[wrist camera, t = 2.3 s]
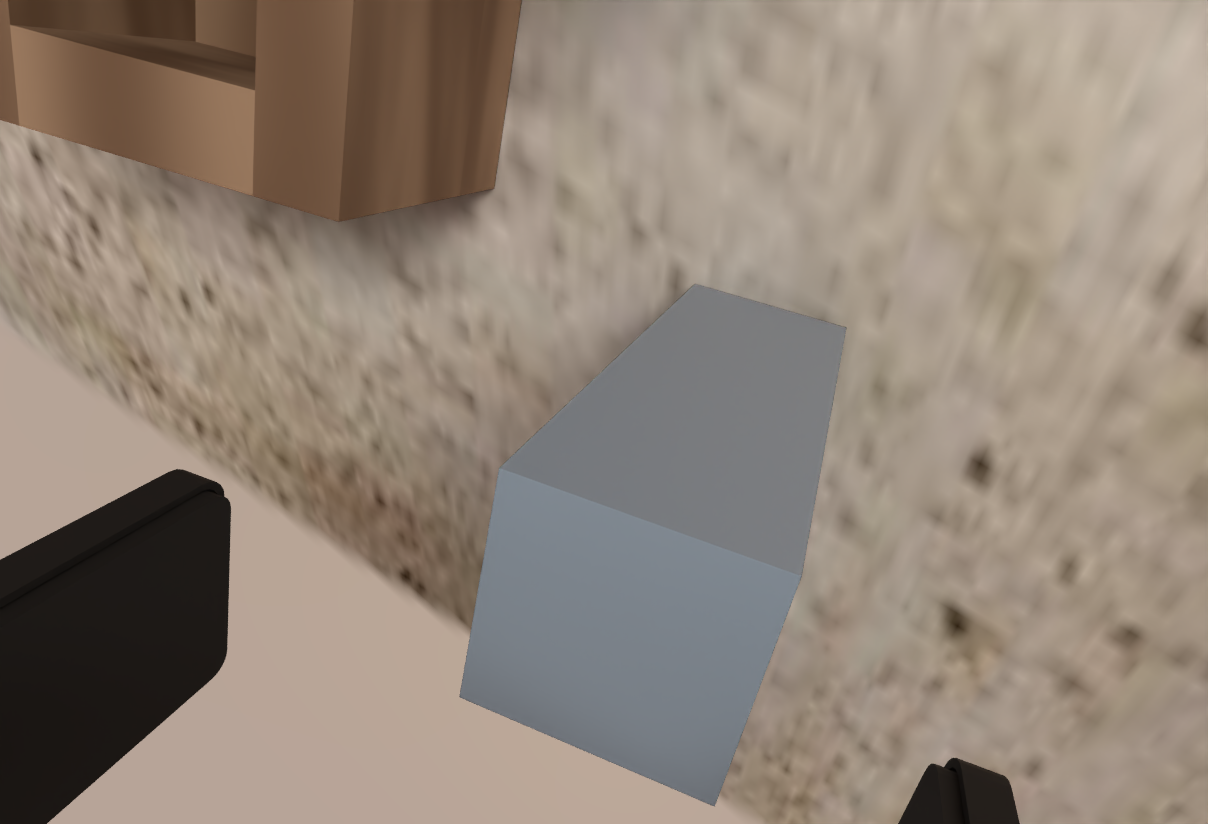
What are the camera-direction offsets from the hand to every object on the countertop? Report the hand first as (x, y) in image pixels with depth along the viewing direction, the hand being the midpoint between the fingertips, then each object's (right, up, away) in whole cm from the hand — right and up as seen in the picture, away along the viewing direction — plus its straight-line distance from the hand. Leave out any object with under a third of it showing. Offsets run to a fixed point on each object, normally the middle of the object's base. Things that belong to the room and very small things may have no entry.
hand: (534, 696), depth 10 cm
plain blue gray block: (+5, +5, +11) cm, 13 cm away
